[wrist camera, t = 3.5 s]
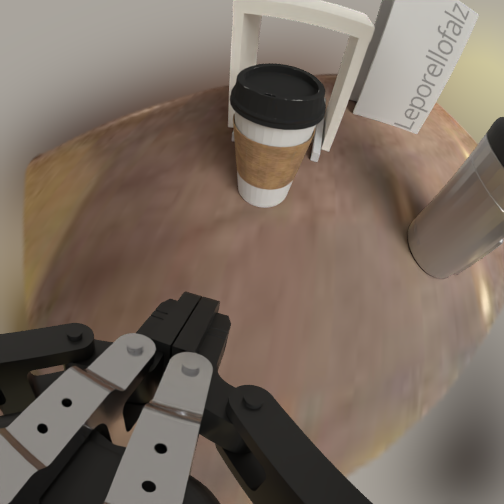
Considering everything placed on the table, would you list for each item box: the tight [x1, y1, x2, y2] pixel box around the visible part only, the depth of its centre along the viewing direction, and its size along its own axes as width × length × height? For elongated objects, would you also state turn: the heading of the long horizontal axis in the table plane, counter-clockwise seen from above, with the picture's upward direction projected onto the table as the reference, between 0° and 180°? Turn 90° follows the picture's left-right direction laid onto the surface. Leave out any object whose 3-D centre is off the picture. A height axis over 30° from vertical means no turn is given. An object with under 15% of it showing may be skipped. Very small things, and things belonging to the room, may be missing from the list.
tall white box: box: [349, 0, 479, 134], centre depth 30 cm, size 14×6×30 cm, turn 84°
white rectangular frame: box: [228, 0, 375, 162], centre depth 29 cm, size 15×13×20 cm
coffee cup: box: [230, 64, 326, 207], centre depth 26 cm, size 8×8×15 cm
